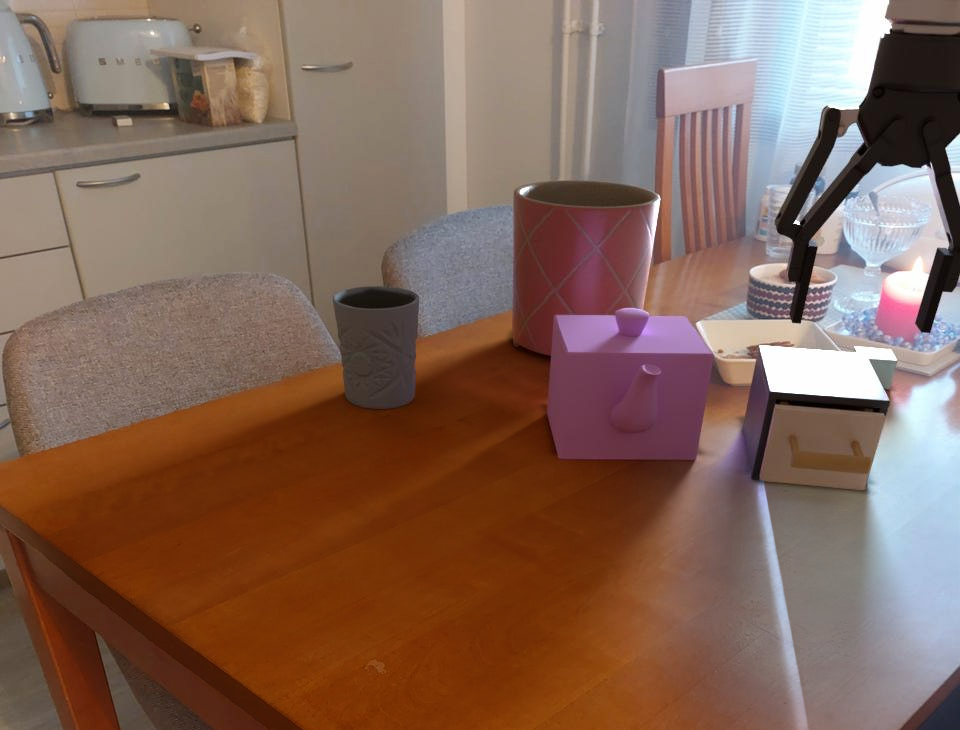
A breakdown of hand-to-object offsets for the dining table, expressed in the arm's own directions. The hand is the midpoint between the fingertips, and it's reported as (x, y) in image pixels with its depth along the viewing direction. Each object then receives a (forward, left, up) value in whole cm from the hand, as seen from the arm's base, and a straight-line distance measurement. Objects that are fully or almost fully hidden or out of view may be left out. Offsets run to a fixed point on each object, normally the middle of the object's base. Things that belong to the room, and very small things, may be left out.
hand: (858, 323), depth 83 cm
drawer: (0, -6, -17) cm, 18 cm away
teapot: (+20, -11, -18) cm, 29 cm away
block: (-11, -35, -18) cm, 41 cm away
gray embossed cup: (+50, -18, -18) cm, 56 cm away
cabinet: (0, -11, -18) cm, 21 cm away
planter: (+28, -43, -18) cm, 55 cm away
